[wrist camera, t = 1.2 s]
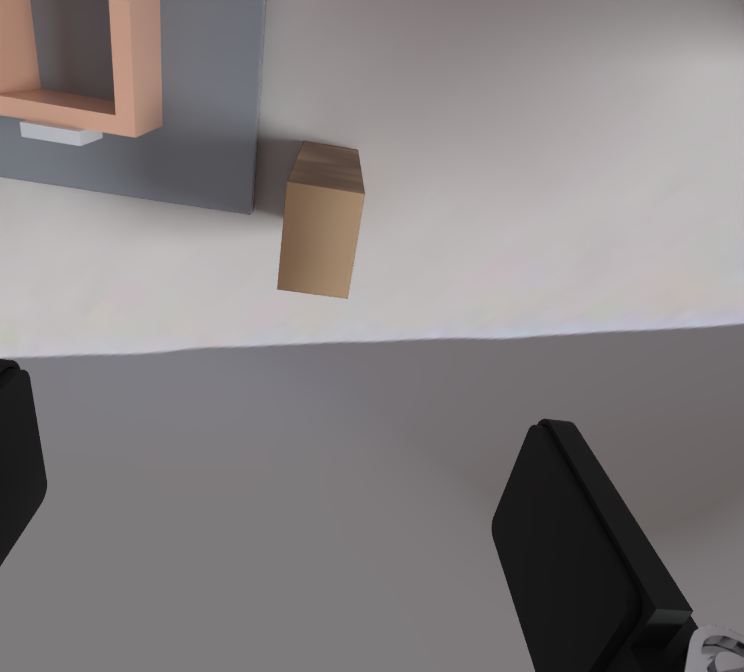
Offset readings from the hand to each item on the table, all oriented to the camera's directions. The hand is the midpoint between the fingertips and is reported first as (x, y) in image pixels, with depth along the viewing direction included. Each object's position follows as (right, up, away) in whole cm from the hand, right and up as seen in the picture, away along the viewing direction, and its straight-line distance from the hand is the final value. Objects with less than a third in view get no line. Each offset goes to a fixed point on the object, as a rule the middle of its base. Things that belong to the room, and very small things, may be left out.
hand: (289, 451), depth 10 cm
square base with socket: (-12, +17, +15) cm, 26 cm away
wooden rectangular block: (-1, +11, +20) cm, 22 cm away
